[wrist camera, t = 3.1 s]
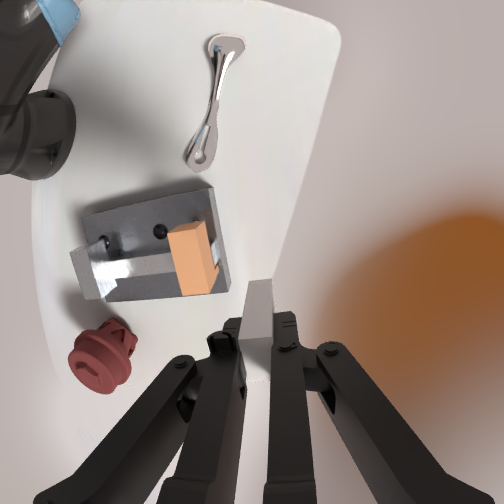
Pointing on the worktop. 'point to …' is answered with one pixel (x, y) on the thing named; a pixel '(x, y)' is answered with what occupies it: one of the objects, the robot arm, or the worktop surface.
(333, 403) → the robot arm
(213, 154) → the grey spoon
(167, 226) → the hole plate
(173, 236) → the block
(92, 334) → the mechanical component
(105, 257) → the bar
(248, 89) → the worktop surface
